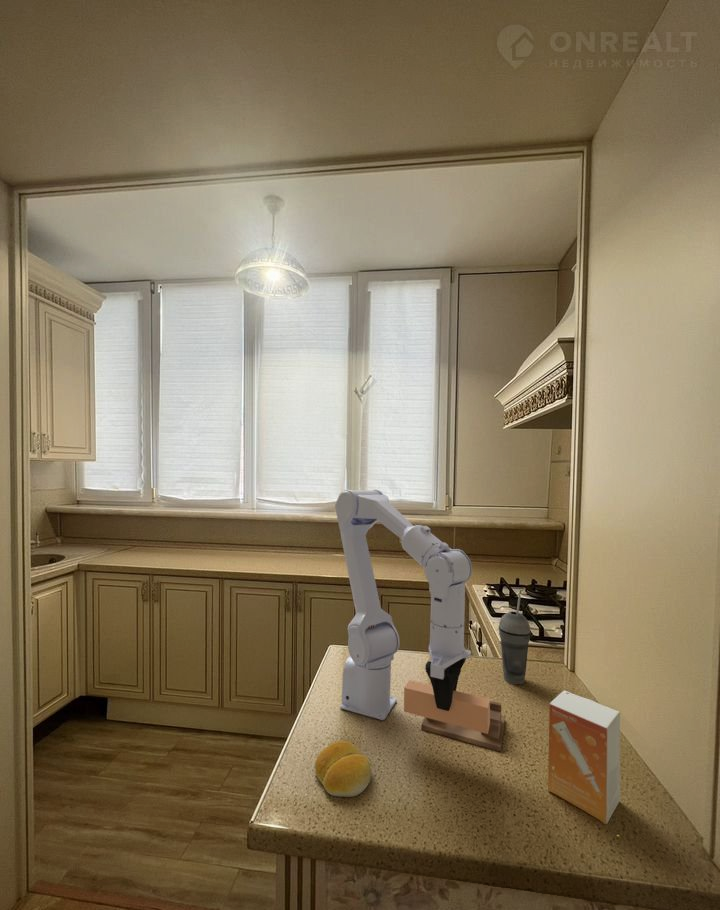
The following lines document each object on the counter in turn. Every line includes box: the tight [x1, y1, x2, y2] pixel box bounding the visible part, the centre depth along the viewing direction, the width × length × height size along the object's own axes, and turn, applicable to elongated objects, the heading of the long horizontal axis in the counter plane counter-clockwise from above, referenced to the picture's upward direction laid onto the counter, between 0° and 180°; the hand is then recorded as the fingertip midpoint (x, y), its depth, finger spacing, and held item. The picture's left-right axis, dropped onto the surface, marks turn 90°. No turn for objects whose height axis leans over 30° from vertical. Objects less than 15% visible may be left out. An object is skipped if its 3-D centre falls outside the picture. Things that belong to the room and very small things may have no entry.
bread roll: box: [314, 740, 372, 798], centre depth 62 cm, size 8×9×4 cm
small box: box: [547, 690, 621, 825], centre depth 60 cm, size 8×6×13 cm
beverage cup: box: [497, 593, 532, 685], centre depth 95 cm, size 7×7×20 cm
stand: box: [420, 700, 506, 752], centre depth 77 cm, size 14×10×4 cm
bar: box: [403, 679, 491, 734], centre depth 69 cm, size 14×3×4 cm, turn 66°
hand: (445, 703), depth 69 cm, fingers closed on bar, 3 cm apart
